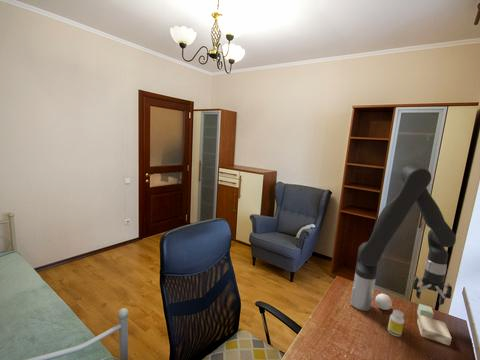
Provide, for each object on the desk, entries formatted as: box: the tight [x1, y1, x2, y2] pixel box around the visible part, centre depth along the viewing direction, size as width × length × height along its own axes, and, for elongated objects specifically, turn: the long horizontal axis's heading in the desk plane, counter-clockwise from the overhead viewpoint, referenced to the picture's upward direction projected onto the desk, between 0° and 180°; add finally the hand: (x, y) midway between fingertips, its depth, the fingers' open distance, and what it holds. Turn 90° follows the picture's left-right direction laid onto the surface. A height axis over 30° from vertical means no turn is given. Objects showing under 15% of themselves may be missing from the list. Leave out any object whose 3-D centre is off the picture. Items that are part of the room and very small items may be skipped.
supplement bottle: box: [387, 309, 405, 337], centre depth 108 cm, size 5×5×10 cm
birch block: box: [416, 314, 453, 346], centre depth 110 cm, size 10×10×4 cm
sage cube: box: [416, 303, 435, 319], centre depth 119 cm, size 5×5×5 cm
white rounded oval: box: [374, 293, 393, 311], centre depth 123 cm, size 10×7×7 cm
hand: (429, 300), depth 117 cm, fingers open, 8 cm apart
